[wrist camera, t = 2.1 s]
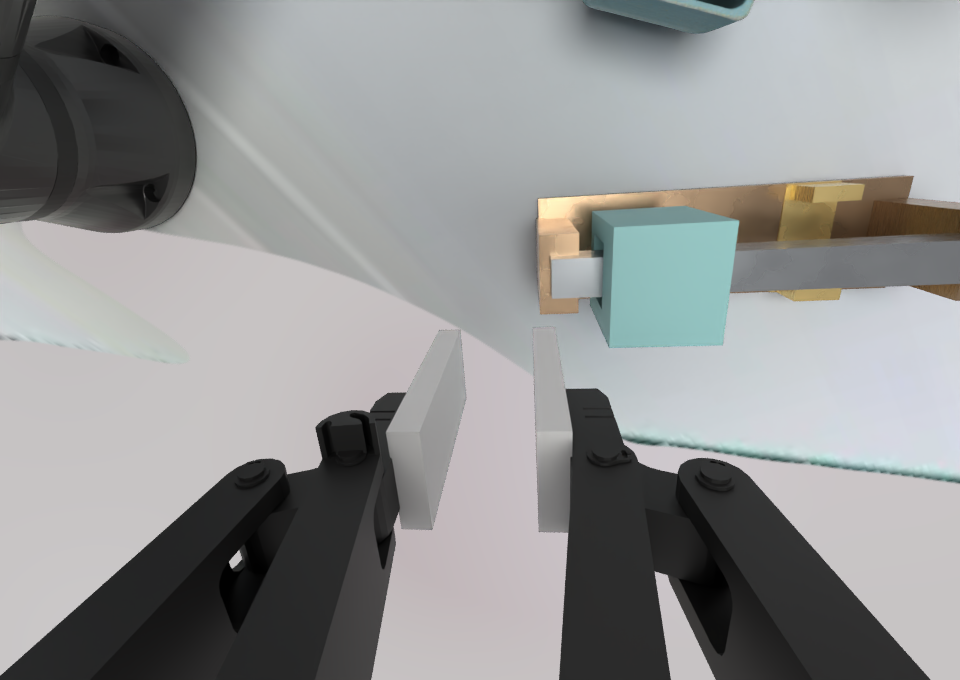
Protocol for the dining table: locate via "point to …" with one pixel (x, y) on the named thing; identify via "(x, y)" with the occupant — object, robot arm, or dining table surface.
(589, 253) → the rail
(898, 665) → the robot arm
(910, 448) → the dining table surface
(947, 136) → the dining table surface
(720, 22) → the flower pot
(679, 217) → the block
